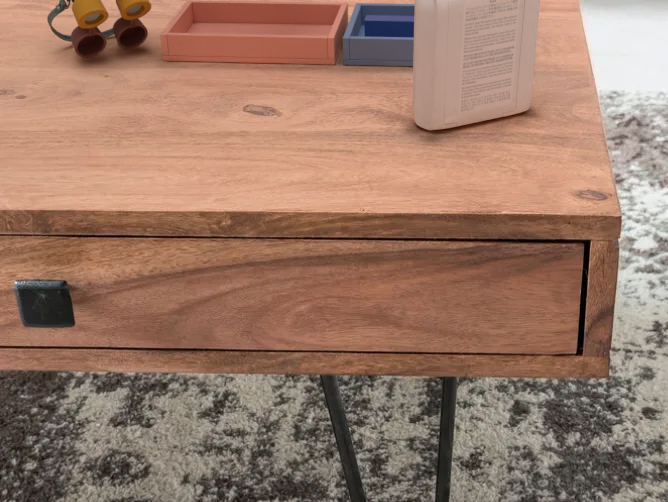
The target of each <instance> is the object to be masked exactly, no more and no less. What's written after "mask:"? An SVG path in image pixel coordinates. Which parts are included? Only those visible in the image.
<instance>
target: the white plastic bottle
mask: <svg viewBox="0 0 668 502" xmlns="http://www.w3.org/2000/svg"><path fill="white" fill-rule="evenodd" d="M414 4H415V14H414V54H413V66H412V114H413V115H414V116H413V120H414V123H415V124H416V125H417V126H418V127H419V128H422V129H424V130H426V131H436V130H438V131H439V130H445V129H452V128H456V127H460V126H466V125H470V124H474V123H481V122H484V121H489V120H493V119H494V120H495V119H499V118H503V117H508V116H509V117H510V116H512V115H517V114H520V113H524V112H526V111H528V110H529V109H530V107H531V104H532V95H533V83H534V73H535V72H534V71H535V62H536V61H535V60H536V51H537V50H536V49H537V39H538V28H539V17H540V5H541V0H414Z"/></svg>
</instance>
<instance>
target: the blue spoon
mask: <svg viewBox="0 0 668 502" xmlns="http://www.w3.org/2000/svg"><path fill="white" fill-rule="evenodd" d="M364 29H365V37H414V16H389V15H366V17H365V20H364Z"/></svg>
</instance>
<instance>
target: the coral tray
mask: <svg viewBox="0 0 668 502" xmlns="http://www.w3.org/2000/svg"><path fill="white" fill-rule="evenodd" d="M348 23H349V3H348V2H326V1H325V2H323V1H322V2H319V1H317V2H316V1H266V0H265V1H263V0H262V1H261V0H259V1H258V0H256V1H255V0H186V1H185V3H184V4H183V5H182V6H181V8H180V9H179V10H178V11H177V13H176V14H175V15H174V16H173V18H172V19H171V21H169V23H168V24H167V25H166V27H165V28H164V29H163V31H162V32H161V33H160V36H159V37H160V42H161V43H160V44H161V52H162V58H163V61H165V62H198V63H199V62H203V63H205V62H206V63H245V64H246V63H250V64H289V65H294V64H295V65H333V66H334V65H335V64H336V62H337V60H338V56H339V54H340V51H341V49H342V47H343V36H344V34H345V31H346V29H347V26H348Z"/></svg>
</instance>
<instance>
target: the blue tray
mask: <svg viewBox="0 0 668 502" xmlns="http://www.w3.org/2000/svg"><path fill="white" fill-rule="evenodd" d="M414 14H415V3H385V2H383V3H382V2H381V3H376V2H374V3H373V2H356V3H355V5H354V8H353V10H352V13H351V16H350V18H349V20H348V26H347V29H346V31H345V34H344V36H343V43H342V59H343V60H342V63H343V65H344V66H375V67H377V66H378V67H413V54H414V37H365V29H364V20H365V17H366V15H389V16H414Z"/></svg>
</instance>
